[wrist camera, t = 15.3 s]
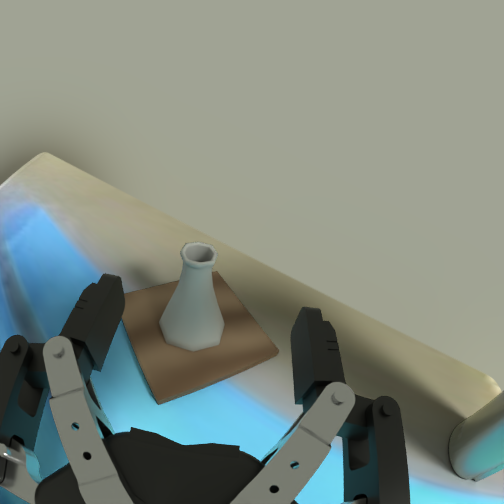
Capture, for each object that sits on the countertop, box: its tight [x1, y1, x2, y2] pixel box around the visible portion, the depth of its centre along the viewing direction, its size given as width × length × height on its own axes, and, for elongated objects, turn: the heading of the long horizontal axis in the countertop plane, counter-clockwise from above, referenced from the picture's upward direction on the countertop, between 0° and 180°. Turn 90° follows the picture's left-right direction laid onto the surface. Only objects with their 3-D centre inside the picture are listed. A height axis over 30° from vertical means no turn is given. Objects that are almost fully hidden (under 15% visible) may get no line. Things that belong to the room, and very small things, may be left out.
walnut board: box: [121, 271, 279, 405], centre depth 29 cm, size 14×14×1 cm
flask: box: [159, 242, 225, 352], centre depth 26 cm, size 7×7×10 cm
